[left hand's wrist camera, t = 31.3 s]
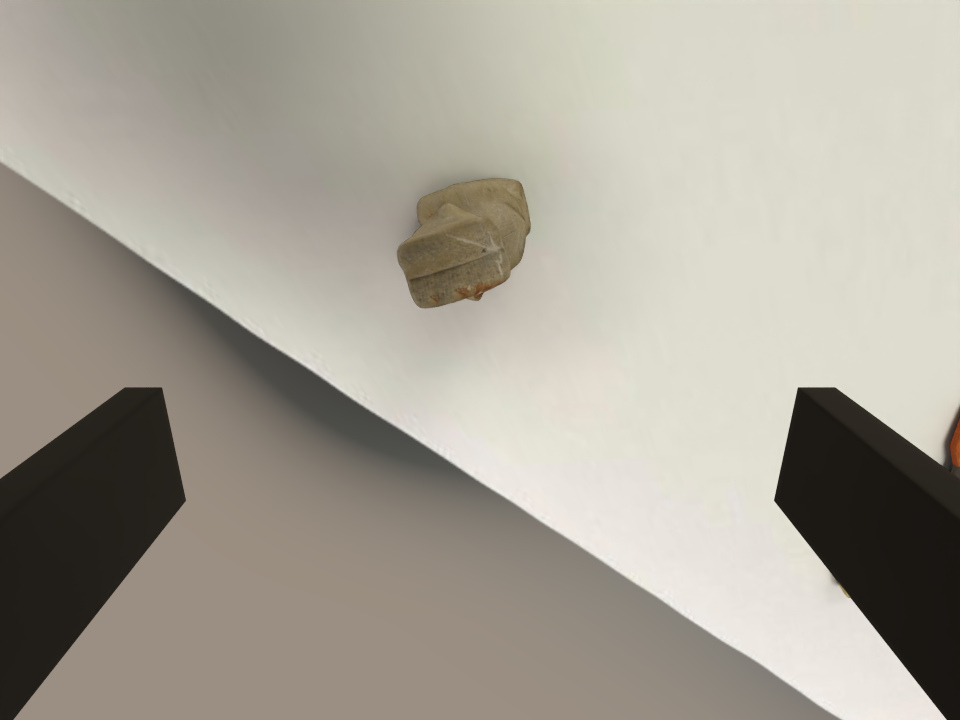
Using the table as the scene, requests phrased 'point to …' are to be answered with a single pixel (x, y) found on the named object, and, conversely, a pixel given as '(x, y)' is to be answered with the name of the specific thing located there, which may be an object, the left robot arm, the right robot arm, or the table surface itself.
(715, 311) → the table surface
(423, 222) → the sculpture
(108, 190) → the table surface
